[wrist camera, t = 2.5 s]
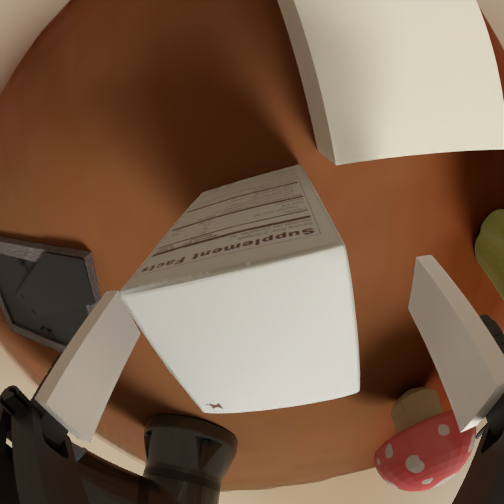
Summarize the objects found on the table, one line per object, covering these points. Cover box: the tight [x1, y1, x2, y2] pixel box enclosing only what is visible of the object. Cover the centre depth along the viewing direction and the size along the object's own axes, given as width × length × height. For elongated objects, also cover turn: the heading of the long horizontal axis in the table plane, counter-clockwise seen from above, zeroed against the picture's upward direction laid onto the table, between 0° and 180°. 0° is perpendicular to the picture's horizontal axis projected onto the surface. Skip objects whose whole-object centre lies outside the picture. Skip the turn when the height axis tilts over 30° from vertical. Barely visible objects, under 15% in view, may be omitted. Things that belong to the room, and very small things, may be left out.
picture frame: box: [0, 236, 101, 353], centre depth 26 cm, size 16×2×21 cm
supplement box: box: [120, 165, 360, 413], centre depth 15 cm, size 7×7×13 cm
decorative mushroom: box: [374, 387, 476, 491], centre depth 23 cm, size 13×13×15 cm
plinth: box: [277, 0, 504, 165], centre depth 11 cm, size 12×12×6 cm
